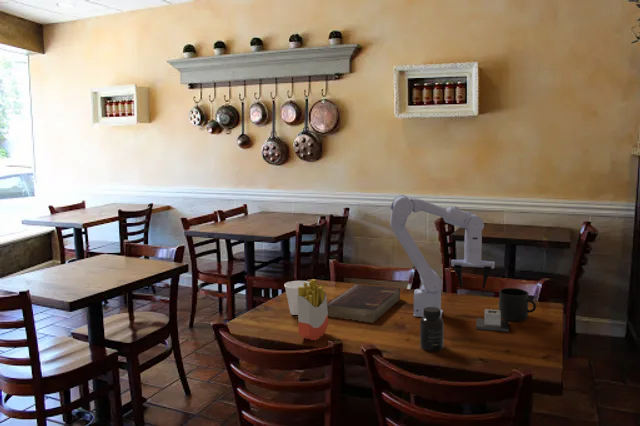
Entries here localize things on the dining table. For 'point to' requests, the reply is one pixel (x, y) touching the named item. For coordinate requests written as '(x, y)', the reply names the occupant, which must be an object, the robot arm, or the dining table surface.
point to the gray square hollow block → (492, 318)
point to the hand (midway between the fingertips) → (472, 286)
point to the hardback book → (363, 302)
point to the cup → (293, 294)
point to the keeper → (481, 326)
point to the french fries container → (312, 311)
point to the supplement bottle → (431, 330)
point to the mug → (514, 304)
